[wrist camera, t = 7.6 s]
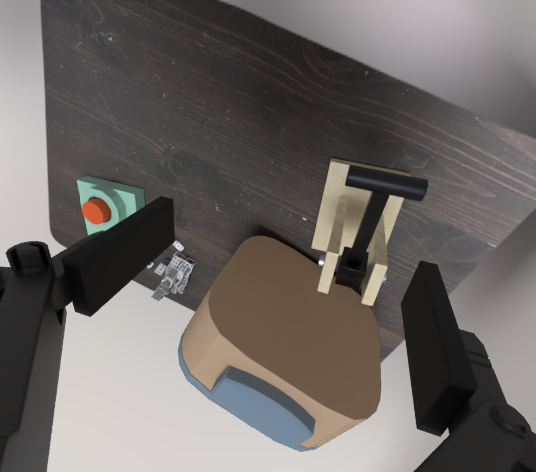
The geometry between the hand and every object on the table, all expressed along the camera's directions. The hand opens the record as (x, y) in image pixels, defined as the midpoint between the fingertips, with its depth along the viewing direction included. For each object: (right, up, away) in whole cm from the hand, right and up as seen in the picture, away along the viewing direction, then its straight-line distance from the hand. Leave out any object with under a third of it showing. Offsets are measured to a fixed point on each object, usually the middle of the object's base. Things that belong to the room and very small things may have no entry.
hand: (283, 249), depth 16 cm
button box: (-25, +4, +35) cm, 43 cm away
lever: (+7, +2, +9) cm, 12 cm away
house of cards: (-17, -3, +36) cm, 40 cm away
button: (-26, +5, +30) cm, 40 cm away
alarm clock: (+4, -6, +31) cm, 31 cm away
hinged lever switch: (+10, +4, +23) cm, 25 cm away
